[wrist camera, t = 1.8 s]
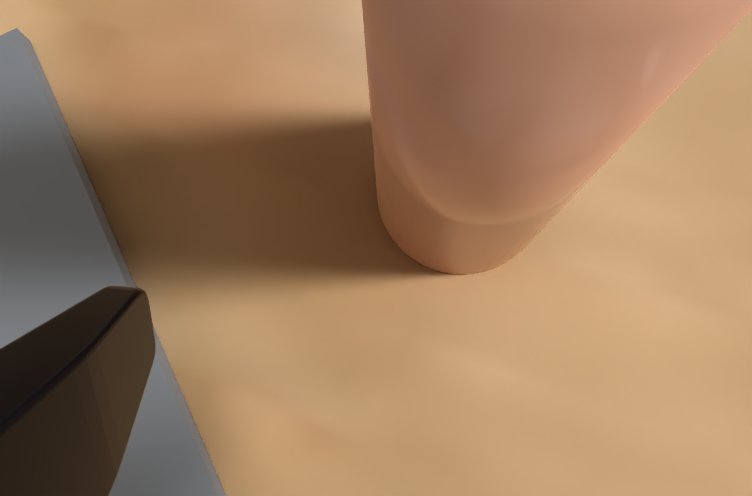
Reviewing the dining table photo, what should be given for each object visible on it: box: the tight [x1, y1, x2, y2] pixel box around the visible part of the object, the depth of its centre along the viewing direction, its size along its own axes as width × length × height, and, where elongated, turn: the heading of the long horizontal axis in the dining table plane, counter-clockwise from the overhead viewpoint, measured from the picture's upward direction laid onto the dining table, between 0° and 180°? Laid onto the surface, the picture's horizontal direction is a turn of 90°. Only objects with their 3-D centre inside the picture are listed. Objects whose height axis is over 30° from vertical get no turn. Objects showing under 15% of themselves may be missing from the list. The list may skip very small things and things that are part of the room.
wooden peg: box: [362, 0, 752, 274], centre depth 14 cm, size 5×5×14 cm
